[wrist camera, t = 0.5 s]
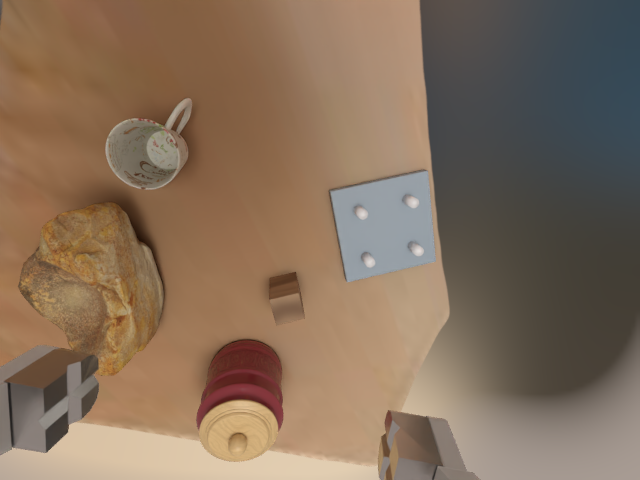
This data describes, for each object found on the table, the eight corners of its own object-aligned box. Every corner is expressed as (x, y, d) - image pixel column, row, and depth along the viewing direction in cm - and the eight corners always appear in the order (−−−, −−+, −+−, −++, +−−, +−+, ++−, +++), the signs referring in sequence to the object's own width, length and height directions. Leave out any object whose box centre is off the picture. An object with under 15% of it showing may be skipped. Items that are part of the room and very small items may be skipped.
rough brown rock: (36, 190, 50) (-68, 218, 36) (151, 189, 51) (93, 217, 37) (73, 325, 58) (0, 392, 44) (173, 323, 59) (132, 388, 45)
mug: (126, 158, 50) (92, 165, 41) (167, 81, 48) (141, 69, 38) (180, 189, 52) (159, 202, 43) (221, 117, 50) (209, 114, 41)
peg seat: (329, 190, 55) (333, 195, 51) (423, 169, 56) (436, 172, 52) (345, 278, 60) (350, 289, 56) (432, 258, 61) (443, 268, 57)
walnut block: (269, 277, 59) (269, 299, 51) (295, 272, 59) (298, 292, 51) (275, 300, 60) (276, 325, 52) (301, 294, 60) (305, 318, 53)
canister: (293, 378, 65) (300, 463, 49) (232, 407, 66) (219, 501, 49) (260, 326, 61) (256, 399, 45) (196, 357, 61) (167, 442, 45)
